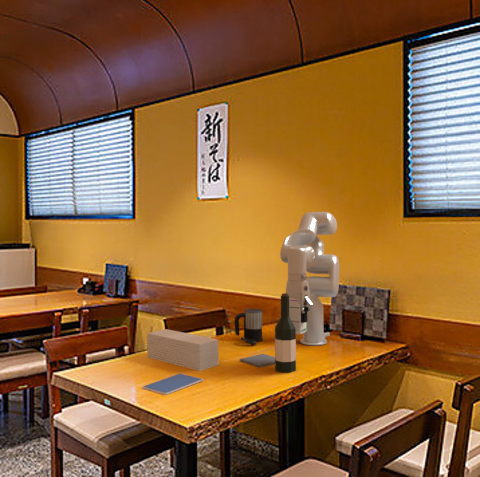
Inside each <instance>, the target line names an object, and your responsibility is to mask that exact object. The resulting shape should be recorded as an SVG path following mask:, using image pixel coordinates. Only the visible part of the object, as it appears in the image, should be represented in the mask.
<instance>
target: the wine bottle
mask: <svg viewBox="0 0 480 477" xmlns="http://www.w3.org/2000/svg"><path fill="white" fill-rule="evenodd" d="M296 335H297V334H296V328H295V326H294V324H293V323H292V321H291V319H290V317H289V295H288V293H286V292H283V293H281V295H280V318H279V319H278V321H277V322H276V325H274V352H275V353H274V357H275V364H274V367H275V368H274V369H275V371H276V372H278V373H283V374H287V373H288V374H289V373H294V372H295V371H296V370H297V357H296V356H297V351H296V350H297V349H296V348H297V342H296V341H297V339H296V338H297V337H296Z"/></svg>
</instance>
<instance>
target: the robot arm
mask: <svg viewBox="0 0 480 477" xmlns="http://www.w3.org/2000/svg"><path fill="white" fill-rule="evenodd" d="M337 229H338V223H337V219H336V218H335V216H334V215H333V214H332V213H330V212H328V211H310V212H306V213H305V212H304V214H303V215H302V216H301V218H300V221H299V225H298V228H297V230H295V231H293V232H292V233H290V234H289V235H288V236H286V237H285V238H284V240H283V242H282V244H281V248H280V251H279V252H280V253H279V257H280V260H281V261H282V262H283V263H284V264H287V281H286V286H285V293H288V295H289V298H296V299H297V301H298V304H299V306H301V311H302V313H301V323H305V322H307V331H306V332H304V333H302V334H303V336H302V338H300V341H299V342H300V344H303V345H305V346H322V345H326V344H327V343H328V340H327V338H328V337H329V336H331V335H330V332H329V331H327V332H324V305H323V302H322V301H321V299H320V298H334V297H337V296H338V293H339V290H340V289H339V288H340V287H339V285H340V261H339V257H338V256H337V255H336V254H330V253H329V254H326V253H325V244H324V241H323V240H322V239H321V238H320V237H319V236H323V235H324V236H325V235H329V236H330V235H331V236H332V235H334V234H335V233H336V232H337ZM318 235H319V236H318ZM307 273H308V274H313V276H307ZM314 275H315V276H314ZM316 275H318V276H316ZM319 275H328V276H319ZM303 307H304V308H305V309H304V308H303Z"/></svg>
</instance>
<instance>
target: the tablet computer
mask: <svg viewBox="0 0 480 477" xmlns="http://www.w3.org/2000/svg"><path fill="white" fill-rule="evenodd" d="M203 381H204V379H203V378H201V377H196V376H193V375H189V374H183V373H177V374H174V375H171V376H169V377H166V378H164V379H160V380H158V381H154V382H152V383H149V384H146V385H143V386H142V389H143V390H145V391H149V392H153V393H157V394H160V395H164V396H167V395H171V394H172V393H174V392H178V391H181V390H183V389H186V388H188V387H190V386H193V385H196V384H198V383H199V384H200V383H201V382H203Z"/></svg>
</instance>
